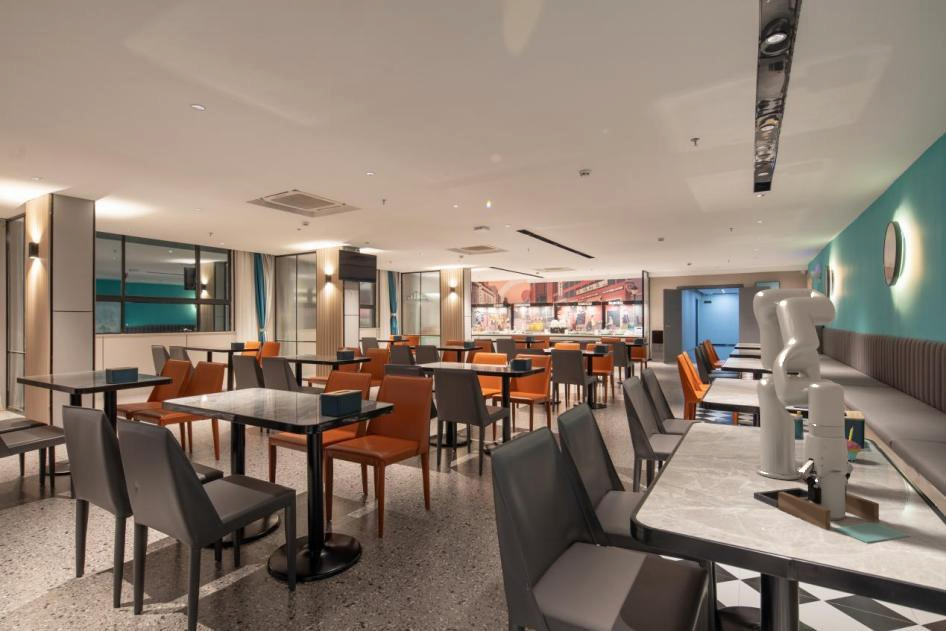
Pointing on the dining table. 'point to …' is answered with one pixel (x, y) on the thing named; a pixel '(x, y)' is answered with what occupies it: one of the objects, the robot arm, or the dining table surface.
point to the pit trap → (772, 496)
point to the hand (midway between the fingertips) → (827, 499)
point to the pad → (871, 532)
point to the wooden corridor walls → (821, 514)
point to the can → (833, 494)
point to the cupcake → (852, 447)
